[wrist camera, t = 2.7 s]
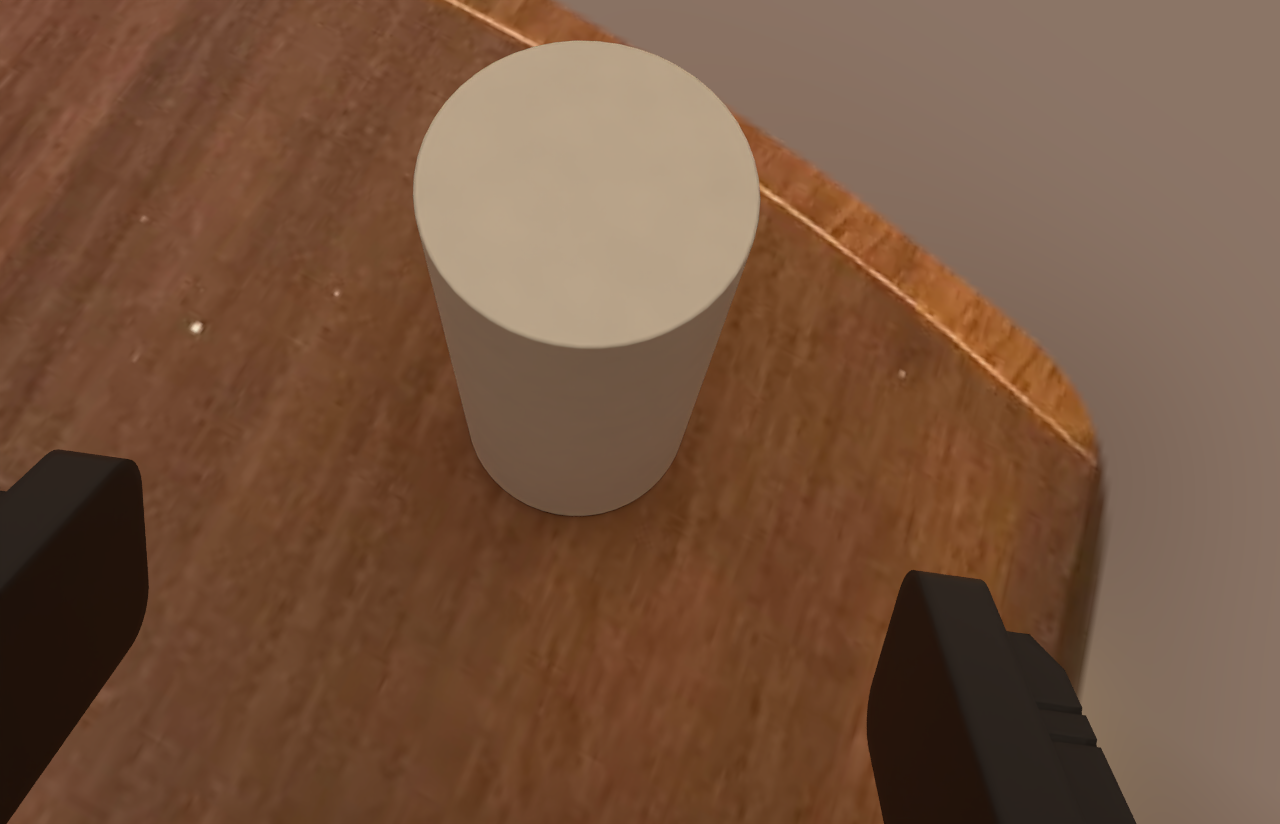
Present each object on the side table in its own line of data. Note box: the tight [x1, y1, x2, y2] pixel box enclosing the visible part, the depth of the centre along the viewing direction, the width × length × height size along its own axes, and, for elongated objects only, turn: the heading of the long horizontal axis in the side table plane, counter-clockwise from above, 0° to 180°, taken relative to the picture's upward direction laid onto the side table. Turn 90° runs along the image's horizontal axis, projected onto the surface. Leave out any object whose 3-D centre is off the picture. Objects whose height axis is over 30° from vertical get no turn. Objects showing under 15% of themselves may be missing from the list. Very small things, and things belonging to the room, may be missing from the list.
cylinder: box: [413, 41, 760, 516], centre depth 18 cm, size 4×4×9 cm
